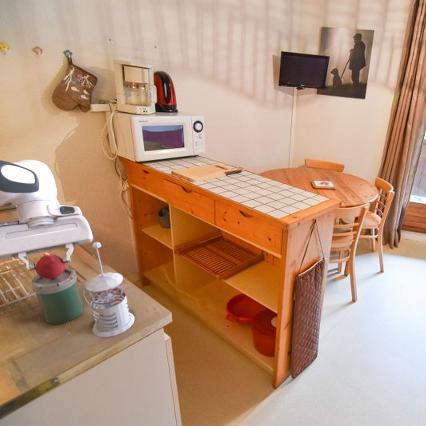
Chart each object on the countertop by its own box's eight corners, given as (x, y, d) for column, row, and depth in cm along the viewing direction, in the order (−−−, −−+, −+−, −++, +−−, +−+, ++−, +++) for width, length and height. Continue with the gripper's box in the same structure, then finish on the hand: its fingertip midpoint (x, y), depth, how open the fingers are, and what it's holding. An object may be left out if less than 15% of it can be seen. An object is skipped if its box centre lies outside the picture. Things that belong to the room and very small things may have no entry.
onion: (68, 270, 87) (61, 245, 84) (67, 281, 83) (60, 255, 80) (40, 276, 84) (32, 249, 81) (38, 288, 80) (30, 260, 76)
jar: (38, 328, 82) (25, 289, 77) (49, 306, 90) (37, 270, 85) (80, 320, 86) (70, 283, 81) (87, 300, 93) (78, 264, 89)
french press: (115, 340, 81) (96, 256, 71) (76, 331, 82) (52, 247, 73) (142, 315, 89) (128, 236, 80) (107, 307, 91) (89, 229, 82)
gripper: (-19, 220, 76) (-11, 274, 73) (85, 206, 88) (96, 252, 84) (-10, 229, 81) (-3, 281, 77) (88, 215, 93) (98, 259, 89)
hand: (50, 265), depth 81 cm, fingers closed on onion, 6 cm apart
